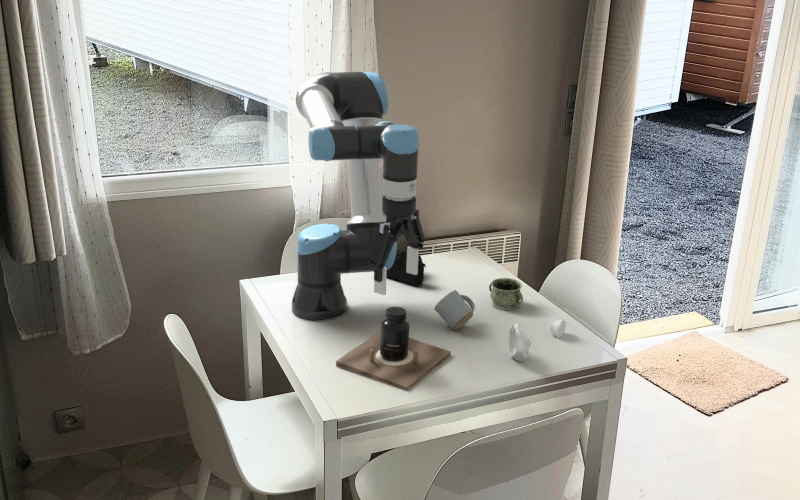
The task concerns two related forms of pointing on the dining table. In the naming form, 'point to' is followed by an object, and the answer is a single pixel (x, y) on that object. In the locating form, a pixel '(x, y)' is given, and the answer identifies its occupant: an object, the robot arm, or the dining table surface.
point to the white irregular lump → (558, 328)
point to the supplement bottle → (394, 335)
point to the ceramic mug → (455, 309)
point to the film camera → (400, 269)
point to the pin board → (394, 373)
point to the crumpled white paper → (518, 343)
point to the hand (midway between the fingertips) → (396, 283)
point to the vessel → (506, 293)
